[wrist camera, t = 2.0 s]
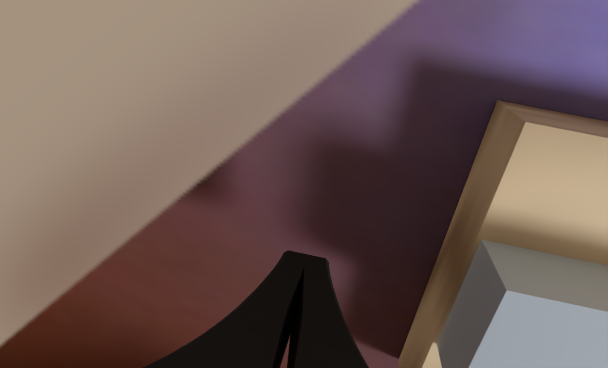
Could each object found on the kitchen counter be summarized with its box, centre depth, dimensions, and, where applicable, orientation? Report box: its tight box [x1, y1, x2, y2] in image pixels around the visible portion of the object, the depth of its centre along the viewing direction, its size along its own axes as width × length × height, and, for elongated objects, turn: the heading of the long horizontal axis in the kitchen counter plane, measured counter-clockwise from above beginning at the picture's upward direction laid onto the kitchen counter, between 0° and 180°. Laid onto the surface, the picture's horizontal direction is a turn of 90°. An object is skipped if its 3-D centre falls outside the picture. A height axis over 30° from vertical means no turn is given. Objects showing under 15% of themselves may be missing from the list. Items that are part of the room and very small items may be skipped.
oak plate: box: [399, 100, 608, 368], centre depth 14 cm, size 12×10×2 cm
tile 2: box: [437, 239, 608, 368], centre depth 12 cm, size 4×4×2 cm
